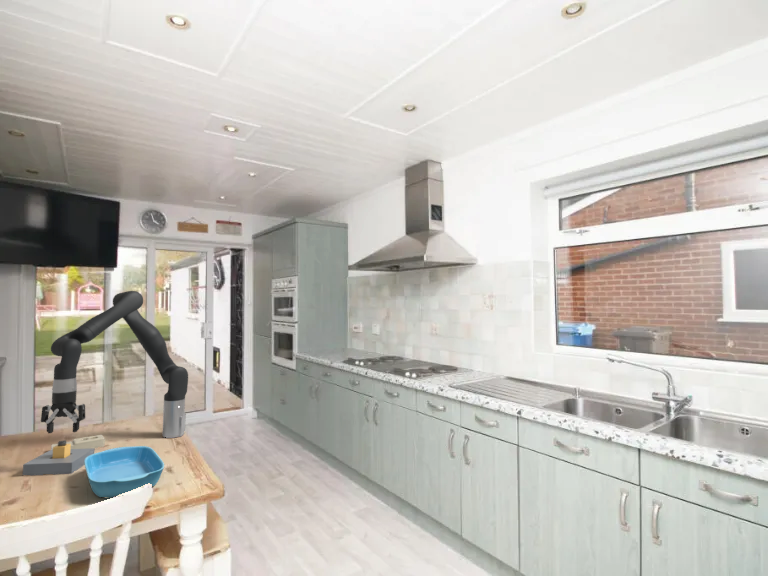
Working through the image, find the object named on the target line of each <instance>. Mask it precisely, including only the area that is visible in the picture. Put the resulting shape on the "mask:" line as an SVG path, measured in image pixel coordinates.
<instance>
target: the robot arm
mask: <svg viewBox="0 0 768 576" xmlns="http://www.w3.org/2000/svg"><path fill="white" fill-rule="evenodd" d="M143 304H144V296H143V295H142V294H141V293H140V292H139V291H136V290H128V291H127V290H126V291H122V292H119V293H115V295H114V296H113V298H112V305H113V306H111V307H109V308H108V309H105V311H102V312H101V313H99V314H97V315H95V316H93V317H92V318H90V319H88V320H87V321H85V322H83V323H82V324H81V325H79V326H78V327H77V328H76V329H74V330H71V331H69V332H67V333H66V334H64V335H61V336H60V337H58V338H57V339H55V340H54V341H53V342H52V344H51V346H50V351H51V353H52V354H53V355H54V356H57V357H61V358H60V362H59V363H56V364H55V366H54V369H53V381H52V388H51V394H52V395H51V405H49V404H47V405H43V406H42V407H41V415H40V422H41V423H46V433H47V434H53V432H54V430H55V429H54V424H55V423H54V420H56V419H57V418H61V417H63V418H67V417H68V418H69V419H70V420H71V421H72V422H73V423H72V433H76V432H78V431H79V430H80V422H81V421H83V420H85V419H86V404H85V403H82V404H77V403H76V402H77V393H78V392H77V389H78V382H77V381H78V380H77V371H78V369H77V367H78V365H79V362H80V359H81V355H82V353H83V352H82V351H83V349H82V348H83V347H82V344H86V343H89V342H91V341H93V340H94V339H95V338H96V337H98V336H99V335H100V334H102V333H103V332H104V331H105V330H107V329H109V328H110V327H111V326H112V325H114V324H116V322H118V321H120V320H121V319H123V321H125V322H126V324H127V325H128V326H129V328H130V329H131V331H132V333H133V334H134V335H135V337H136V338H137V341H138V342H139V343H140V345H141V346H142V348H143V349H144V351H145V352H146V354H147V355H148V357H149V358H150V359H151V361H152V362H153V364H154V365H155V366H156V369H157V370H158V372H159V375H160V376H161V377H160V378H162V380H163V382H164V383H166V384H168V387H167V392H166V393H164V395H163V413H162V414H163V415H162V431H161V432H162V436H163V437H162V438H165V437H166V439H171V438H172V439H173V438H178V437H180V438H181V437H183V436H184V435H185V433H184V431H185V432H186V418H187V417H186V416H187V414H186V412H185V408H186V407H185V406H186V396H187V393H188V387H189V386H188V385H189V372H188V370H187V369H186V368H185V367H183V366H179V365H177V364H176V363H175V362H174V360H173V359H172V358H171V357H170V354H169V351H168V347H167V342H166V340H165V338H164V337H163V335H162V334H161V332H160V330H159V329H158V328H157V327H156V326H155V325H154V324H152V323H151V322H149V321H148V320H147V319H146V318H145V317H143V316H142V314H141V313H140V311H139V309H141V307H142V306H143ZM75 410H77V411H75ZM50 411H52V413H51V415H50ZM77 412H78V413H77ZM49 415H50V416H49Z"/></svg>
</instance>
